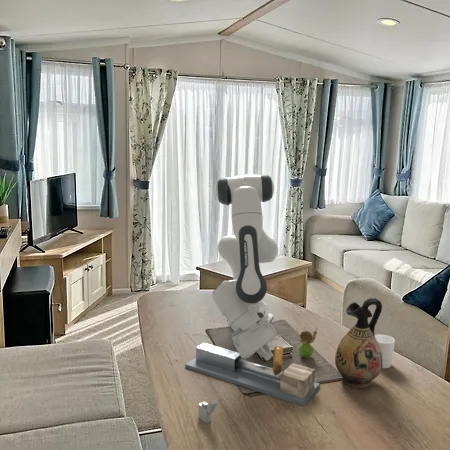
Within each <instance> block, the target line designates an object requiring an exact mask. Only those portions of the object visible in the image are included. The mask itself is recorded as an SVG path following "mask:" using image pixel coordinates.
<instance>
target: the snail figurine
mask: <svg viewBox="0 0 450 450" xmlns="http://www.w3.org/2000/svg"><path fill="white" fill-rule="evenodd" d="M317 330H318V327H315V330H314V331H313V332H311V331H308V330H303V331H301V332H300V334H299V338H300V339H299V342H300V343H301V344H300V345H299V347H298V353H299V355H300V356H301V357H302V358H306V359H308V358H311V356H313V354H314V347H313V346H312V345H311V344H312V343H313V342H314V341H315V340H316V337H317V333H318V331H317Z"/></svg>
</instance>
